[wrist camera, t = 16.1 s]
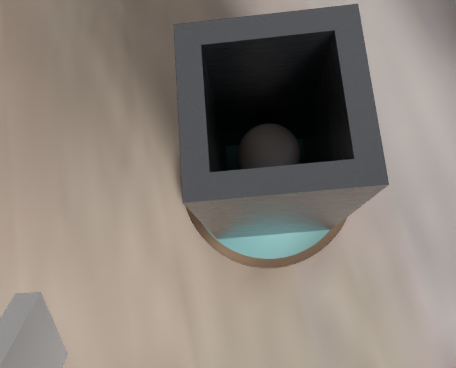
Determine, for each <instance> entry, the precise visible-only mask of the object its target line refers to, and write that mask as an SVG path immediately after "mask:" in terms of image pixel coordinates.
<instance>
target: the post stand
mask: <svg viewBox="0 0 456 368" xmlns="http://www.w3.org/2000/svg"><path fill="white" fill-rule="evenodd" d="M226 155H227V168H228V171H230V170H241V169H251V168H262V167H273V166H284V165H294V164H305V163H306V162H305V154H304V146H303V139H297V140H296V138H295V136H294V135H293V134H292V133H291V132H290V131H289V130H288V129H286V128H285V127H283V126H280V125H277V124H271V123H268V124H261V125H258V126H256V127H254V128H252V129H251V130H250V131H248V132H247V133H246V134H245V136H244V137H243V139H242V140H241V143H240V145H234V146H226ZM186 209H187V212H188V214H189V216H190V219H191V221H192V223H193V224H194V226H195V228H196V229H197V231H198V232H199V233H200V235H201V236H202V237H203V238H204V239H205V240H206V241H207V242H208V243H209V244H210V245H211V246H212V247H213V248H214V249H216V250H217V251H218V252H220V253H221V254H222V255H224V256H226V257H228V258H229V259H231V260H233V261H236V262H238V263H241V264H244V265H248V266H252V267H259V268H278V267H285V266H289V265H292V264H296V263H298V262H301V261H303V260H305V259H307V258H309V257H311V256H313V255H314V254H316V253H317V252H319V251H320V250H322V249H323V248H324V247H325V246H326V245H328V244H329V243H330V242H331V241H332V239H333V238H334V237H335V236H336V235H337V234H338V232H339V231H340V229H341V228H342V226H343V225H344V223H345V221H346V219H347V217H346V218H345V219H344V220H343V221H341V222H340V223H339V224H337V225H336V226H335V227H333V228H332V229H331V230H322V231H310V232H298V233H286V234H275V235H263V236H251V237H239V238H227V239H216V238H215V237H214V236H213V235H212V234H211V232H210V231H209V230H208V229H207V228H206V227H205V226H204V225H203V224H202V223H201V222H200V221H199V220H198V219H197V218H196V217H195V215H194V214H193V213H192V212H191V211H190V210H189V209H188V208H187V207H186Z"/></svg>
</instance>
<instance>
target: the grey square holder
mask: <svg viewBox="0 0 456 368" xmlns="http://www.w3.org/2000/svg"><path fill="white" fill-rule="evenodd" d="M174 41H175V61H176V80H177V100H178V119H179V139H180V159H181V178H182V198H183V204H184V205H185V206H186V207H187V208H188V209H189V210H190V211H191V212H192V213H193V214H194V215H195V217H196V218H197V219H198V220H199V221H200V222H201V223H202V224H203V225H204V226H205V227H206V228H207V229H208V230H209V231H210V232H211V234H212V235H213V236H214V237H215V238H216V239H227V238H239V237H251V236H263V235H275V234H286V233H298V232H310V231H322V230H331V229H332V228H333V227H335V226H336V225H337V224H339V223H340V222H341V221H343V220H344V219H345V218H346V217H348V216H349V215H350V214H352V213H353V212H354V211H355V210H357V209H358V208H359V207H361V206H362V205H363V204H364V203H366V202H367V201H368V200H370V199H371V198H372V197H373V196H375V195H376V194H377V193H379V192H380V191H381V190H383V189H384V188H385V187H386V186H388V185H389V182H388V176H387V171H386V165H385V159H384V153H383V147H382V141H381V136H380V130H379V124H378V118H377V112H376V107H375V101H374V95H373V89H372V83H371V77H370V72H369V66H368V60H367V54H366V48H365V43H364V37H363V31H362V25H361V19H360V13H359V8H358V4H352V5H343V6H334V7H325V8H316V9H308V10H299V11H290V12H281V13H272V14H263V15H254V16H245V17H236V18H227V19H218V20H209V21H201V22H192V23H183V24H174ZM268 123H271V124H277V125H280V126H283V127H285V128H286V129H288V130H289V131H290V132H291V133H292V134H293V135H294V136H295V138H296V140H297V139H303V146H304V154H305V162H306V163H305V164H294V165H284V166H273V167H262V168H251V169H241V170H230V171H228V168H227V155H226V146H234V145H240V143H241V140H242V139H243V137H244V136H245V134H246V133H247V132H248V131H250V130H251V129H252V128H254V127H256V126H258V125H261V124H268Z"/></svg>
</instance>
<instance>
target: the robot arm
mask: <svg viewBox="0 0 456 368" xmlns="http://www.w3.org/2000/svg"><path fill="white" fill-rule="evenodd" d="M67 354H68V353H67V350H66V348H65V346H64V344H63V341H62V339H61V337H60V335H59V332H58V330H57V328H56V326H55V323H54V321H53V319H52V317H51V314H50V312H49V310H48V308H47V305H46V303H45V301H44V299H43V296H42V294H41V292H35V293H20V294H15V295H14V297H13V299H12V300H11V302H10V304H9V305H8V307H7V309H6V310H5V312H4V313H3V315H2V317H1V318H0V368H62V367H63V364H64V362H65V359H66V357H67Z"/></svg>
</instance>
